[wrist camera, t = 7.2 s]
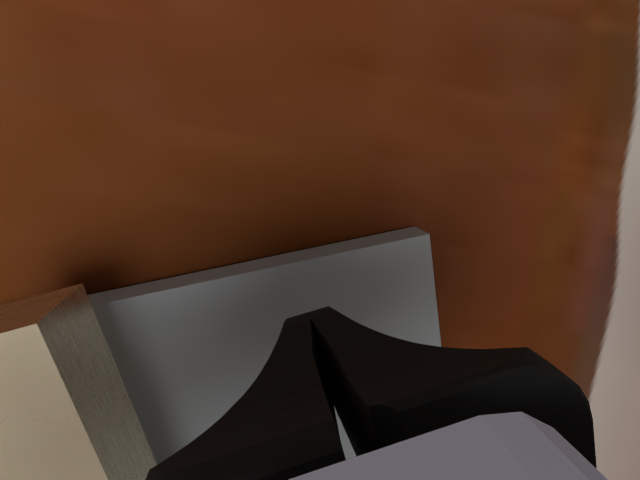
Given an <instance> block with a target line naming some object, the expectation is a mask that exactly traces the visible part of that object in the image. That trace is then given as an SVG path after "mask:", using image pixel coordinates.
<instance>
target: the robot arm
mask: <svg viewBox="0 0 640 480" xmlns="http://www.w3.org/2000/svg"><path fill="white" fill-rule="evenodd" d="M334 407H335V408H334ZM335 409H336V411H337V414H338V416H339V418H340V420H341V423H342V425H343V427H344V429H345V432H346V434H347V436H348V438H349V441H350V443H351V445H352V447H353V450H354V452H355V454H356V456H357V457H354V458H351V459H348V460H346V458H345V455H344V451H343V448H342V444H341V440H340V435H339V429H338V424H337V419H336V414H335ZM145 480H608V479H607V478H606V477H604V476H603V475H602V474H601V473H600V472H599V471H598V470H597V469H596V456H595V443H594V430H593V418H592V414H591V410H590V405H589V401H588V400H587V398H586V396H585V395H584V393H583V391H582V390H581V388H580V387H579V385H577V384H576V383H575V382H574V381H572V380H571V379H570V378H569V377H567V376H566V375H565V374H564V373H562V372H561V371H560V370H558V369H557V368H556V367H555V366H553V365H552V364H551V363H550V362H548V361H547V360H545V359H544V358H542V357H541V356H540V355H538V354H537V353H535V352H534V351H532V350H530V349H529V348H528V347H522V348H502V349H458V348H446V347H438V346H431V345H425V344H419V343H414V342H410V341H406V340H402V339H399V338H395V337H391V336H388V335H385V334H383V333H380V332H378V331H375V330H373V329H370V328H368V327H366V326H364V325H361V324H359V323H357V322H355V321H353V320H352V319H350V318H348V317H346V316H345V315H343V314H341V313H340V312H338V311H336V310H335V309H333V308H331V307H329V306H327V307H324V308H320V309H317V310H314V311H310V312H307V313H304V314H300V315H297V316H293V317H290V318H287V319H286V320H285V321H284V323H283V326H282V329H281V332H280V335H279V337H278V340H277V342H276V344H275V346H274V348H273V350H272V353H271V355H270V357H269V358H268V360H267V362H266V364H265V365H264V367H263V369H262V371H261V372H260V374H259V375H258V377H257V378H256V380H255V381H254V382H253V384H252V385H251V386H250V387H249V389H248V390H247V391H246V392H245V393H244V395H243V396H242V397H241V398H240V399H239V400H238V401H237V402H236V403H235V404H234V405H233V406H232V407H231V408H230V409H229V410H228V411H227V412H226V413H225V414H224V415H223V416H222V417H221V418H220V419H219V420H218V421H217V422H215V423H214V424H213V425H212V426H211V427H210V428H208V429H207V430H206V431H205V432H203V433H202V434H201V435H200V436H198V437H197V438H196V439H195V440H193V441H192V442H190V443H189V444H188V445H186V446H185V447H183V448H182V449H180V450H179V451H177V452H176V453H174V454H173V455H171V456H170V457H168V458H167V459H165V460H164V461H162V462H161V463H159V464H158V465H156V466H154V467H153V468H151V469H150V470H149V472H148V474H147V477H146V479H145Z"/></svg>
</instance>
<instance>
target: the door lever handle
mask: <svg viewBox="0 0 640 480" xmlns="http://www.w3.org/2000/svg"><path fill="white" fill-rule="evenodd" d="M156 465H157V463H156V460H155V458H154V455H153V453H152V450H151V448H150V446H149V443H148V441H147V438H146V436H145V434H144V431H143V429H142V426H141V424H140V421H139V419H138V417H137V414H136V412H135V409H134V407H133V404H132V402H131V400H130V397H129V395H128V392H127V390H126V388H125V385H124V383H123V380H122V378H121V375H120V373H119V371H118V368H117V366H116V363H115V361H114V358H113V356H112V354H111V351H110V349H109V346H108V344H107V342H106V339H105V337H104V334H103V332H102V329H101V327H100V325H99V322H98V320H97V317H96V315H95V312H94V310H93V308H92V305H91V303H90V300H89V298H88V296H87V293H86V291H85V288H84V286H83V283H81V284H78V285H74V286H70V287H66V288H63V289H59V290H55V291H51V292H48V293H44V294H40V295H36V296H33V297H29V298H25V299H21V300H18V301H14V302H10V303H6V304H3V305H0V480H145V479H146V477H147V474H148V472H149V470H150V469H151V468H153V467H154V466H156Z"/></svg>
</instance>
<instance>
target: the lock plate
mask: <svg viewBox="0 0 640 480" xmlns="http://www.w3.org/2000/svg"><path fill="white" fill-rule="evenodd" d="M87 296H88V298H89V300H90V303H91V305H92V308H93V310H94V312H95V315H96V317H97V320H98V322H99V325H100V327H101V329H102V332H103V334H104V337H105V339H106V342H107V344H108V346H109V349H110V351H111V354H112V356H113V358H114V361H115V363H116V366H117V368H118V371H119V373H120V375H121V378H122V380H123V383H124V385H125V388H126V390H127V392H128V395H129V397H130V400H131V402H132V404H133V407H134V409H135V412H136V414H137V417H138V419H139V421H140V424H141V426H142V429H143V431H144V434H145V436H146V438H147V441H148V443H149V446H150V448H151V450H152V453H153V455H154V458H155V460H156V463H157V465H158V464H159V463H161V462H162V461H164V460H165V459H167V458H168V457H170V456H171V455H173V454H174V453H176V452H177V451H179V450H180V449H182V448H183V447H185V446H186V445H188V444H189V443H190V442H192V441H193V440H195V439H196V438H197V437H198V436H200V435H201V434H202V433H203V432H205V431H206V430H207V429H208V428H210V427H211V426H212V425H213V424H214V423H215V422H217V421H218V420H219V419H220V418H221V417H222V416H223V415H224V414H225V413H226V412H227V411H228V410H229V409H230V408H231V407H232V406H233V405H234V404H235V403H236V402H237V401H238V400H239V399H240V398H241V397H242V396H243V395H244V393H245V392H246V391H247V390H248V389H249V387H250V386H251V385H252V384H253V382H254V381H255V380H256V378H257V377H258V375H259V374H260V372H261V371H262V369H263V367H264V365H265V364H266V362H267V360H268V358H269V357H270V355H271V353H272V350H273V348H274V346H275V344H276V342H277V340H278V337H279V335H280V332H281V329H282V326H283V323H284V321H285V320H286V319H287V318H290V317H293V316H297V315H300V314H304V313H307V312H310V311H314V310H317V309H320V308H324V307H327V306H329V307H331V308H333V309H335V310H336V311H338V312H340V313H341V314H343V315H345V316H346V317H348V318H350V319H352V320H353V321H355V322H357V323H359V324H361V325H364V326H366V327H368V328H370V329H373V330H375V331H378V332H380V333H383V334H385V335H388V336H391V337H395V338H399V339H402V340H406V341H410V342H414V343H419V344H425V345H431V346H438V347H441V339H440V329H439V319H438V310H437V300H436V291H435V281H434V272H433V262H432V252H431V243H430V234H429V233H427V232H425V231H423V230H421V229H419V228H417V227H415V226H414V227H409V228H405V229H400V230H395V231H390V232H385V233H381V234H376V235H371V236H366V237H362V238H357V239H352V240H347V241H343V242H338V243H333V244H328V245H323V246H319V247H314V248H309V249H304V250H300V251H295V252H290V253H285V254H281V255H276V256H271V257H266V258H261V259H257V260H252V261H247V262H242V263H238V264H233V265H228V266H223V267H219V268H214V269H209V270H204V271H199V272H195V273H190V274H185V275H180V276H176V277H171V278H166V279H161V280H157V281H152V282H147V283H142V284H137V285H133V286H128V287H123V288H118V289H114V290H109V291H104V292H99V293H95V294H90V295H87ZM334 408H335V407H334ZM335 414H336V419H337V424H338V429H339V435H340V440H341V444H342V448H343V451H344V455H345V458H346V460H348V459H351V458H354V457H357V456H356V454H355V452H354V450H353V447H352V445H351V443H350V441H349V438H348V436H347V434H346V432H345V429H344V427H343V425H342V423H341V420H340V418H339V416H338V414H337V411H336V409H335Z"/></svg>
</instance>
